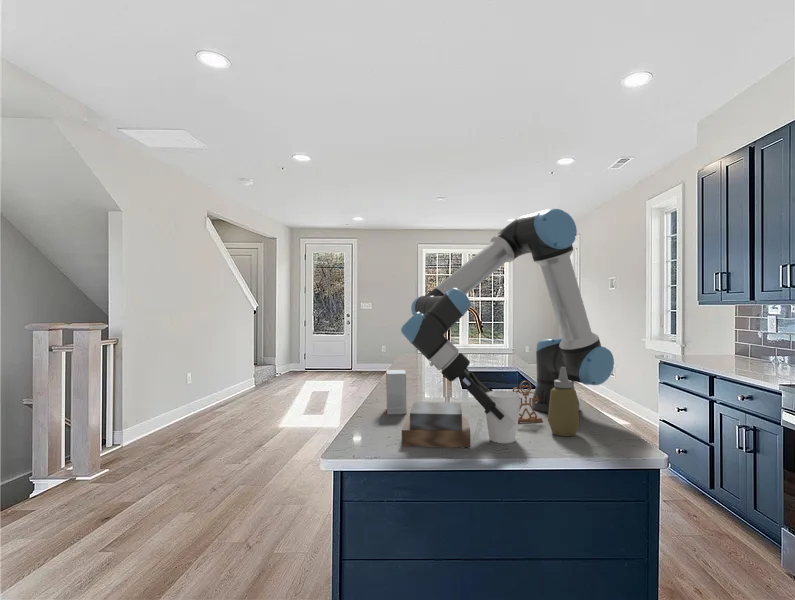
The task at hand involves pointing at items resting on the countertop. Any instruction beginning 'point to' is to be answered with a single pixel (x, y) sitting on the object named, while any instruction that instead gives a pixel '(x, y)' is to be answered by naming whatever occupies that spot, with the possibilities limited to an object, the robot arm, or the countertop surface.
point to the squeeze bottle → (563, 406)
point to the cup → (511, 407)
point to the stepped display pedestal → (436, 426)
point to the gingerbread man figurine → (527, 418)
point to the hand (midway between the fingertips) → (508, 420)
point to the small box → (396, 391)
